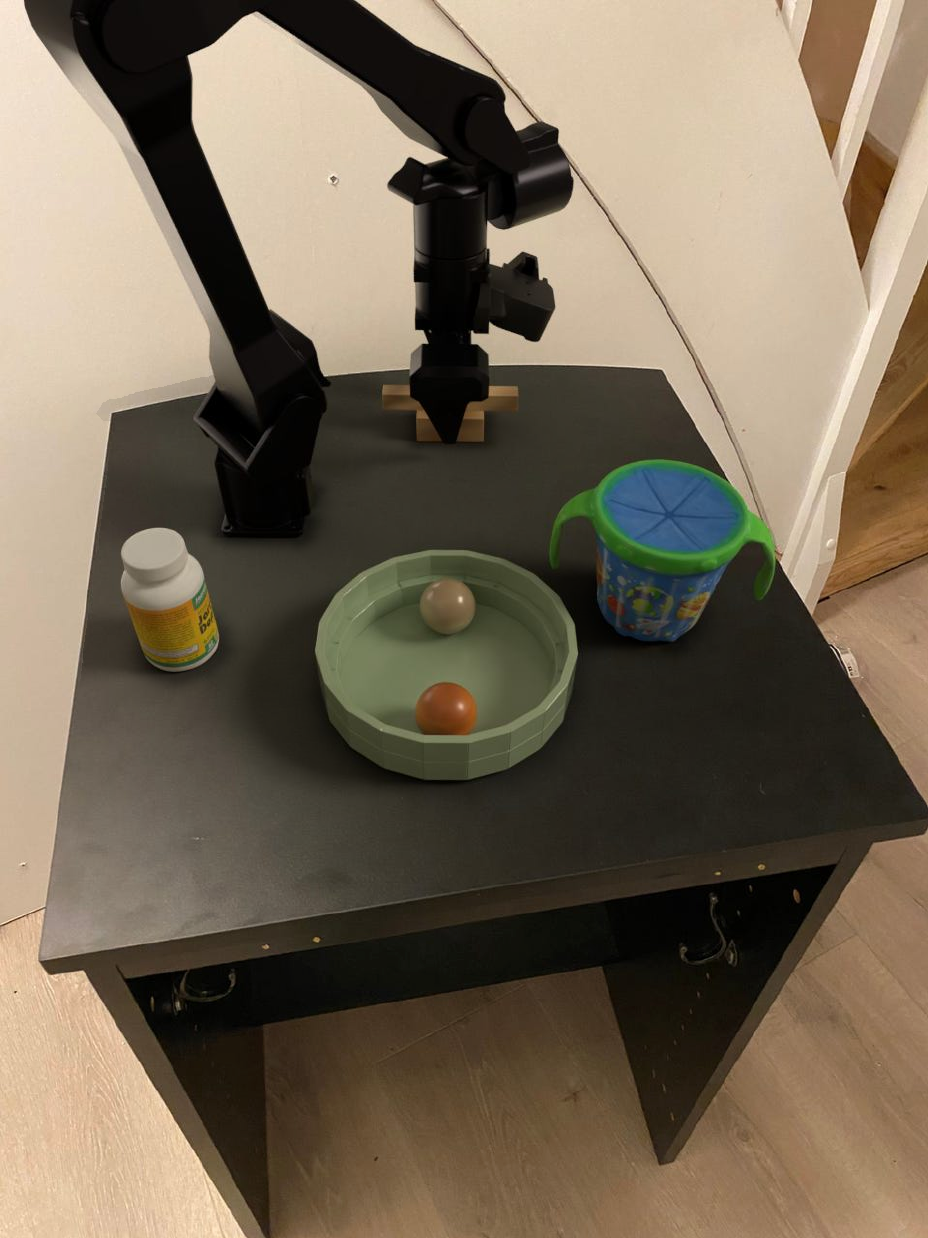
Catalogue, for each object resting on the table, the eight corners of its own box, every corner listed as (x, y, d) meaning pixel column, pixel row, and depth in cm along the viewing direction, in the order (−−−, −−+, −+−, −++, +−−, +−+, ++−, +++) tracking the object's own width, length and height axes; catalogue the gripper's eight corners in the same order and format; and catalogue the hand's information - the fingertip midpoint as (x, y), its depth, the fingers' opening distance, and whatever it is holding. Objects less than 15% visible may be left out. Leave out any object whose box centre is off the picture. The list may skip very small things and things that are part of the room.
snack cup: (759, 586, 72) (795, 481, 65) (745, 686, 66) (784, 582, 58) (562, 543, 76) (575, 438, 68) (529, 635, 69) (539, 529, 61)
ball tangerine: (414, 756, 60) (413, 718, 58) (416, 707, 63) (415, 668, 60) (476, 757, 60) (478, 719, 58) (476, 708, 63) (477, 669, 60)
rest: (416, 441, 85) (416, 418, 83) (418, 415, 88) (417, 392, 86) (483, 442, 85) (484, 418, 83) (482, 416, 88) (483, 393, 86)
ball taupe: (419, 645, 67) (418, 606, 64) (420, 605, 70) (419, 566, 67) (475, 646, 67) (476, 607, 64) (474, 606, 70) (475, 566, 67)
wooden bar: (383, 409, 84) (382, 394, 83) (384, 399, 85) (383, 384, 84) (517, 411, 84) (518, 395, 83) (516, 401, 85) (517, 385, 84)
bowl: (309, 784, 59) (301, 741, 56) (334, 592, 71) (329, 548, 68) (580, 785, 60) (588, 743, 56) (560, 594, 72) (566, 550, 68)
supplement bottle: (145, 624, 69) (111, 524, 62) (219, 614, 70) (194, 514, 63) (143, 680, 65) (107, 580, 58) (221, 668, 66) (195, 569, 59)
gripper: (562, 303, 67) (545, 477, 79) (545, 195, 80) (533, 358, 91) (406, 301, 67) (412, 476, 78) (415, 193, 80) (418, 357, 91)
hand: (449, 412), depth 85 cm, fingers open, 9 cm apart
